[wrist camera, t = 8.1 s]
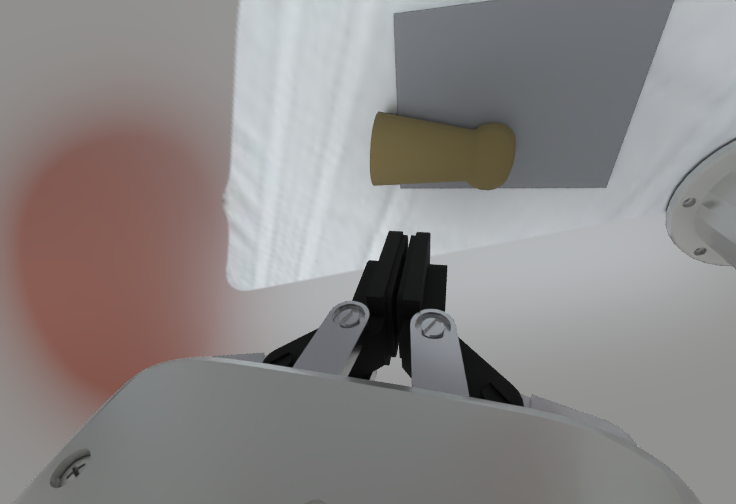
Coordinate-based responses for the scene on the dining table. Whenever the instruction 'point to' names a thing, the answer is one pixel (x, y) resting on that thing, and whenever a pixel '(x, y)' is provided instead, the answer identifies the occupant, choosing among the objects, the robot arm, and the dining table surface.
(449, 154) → the cork
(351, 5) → the dining table surface
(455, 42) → the rubber mat
